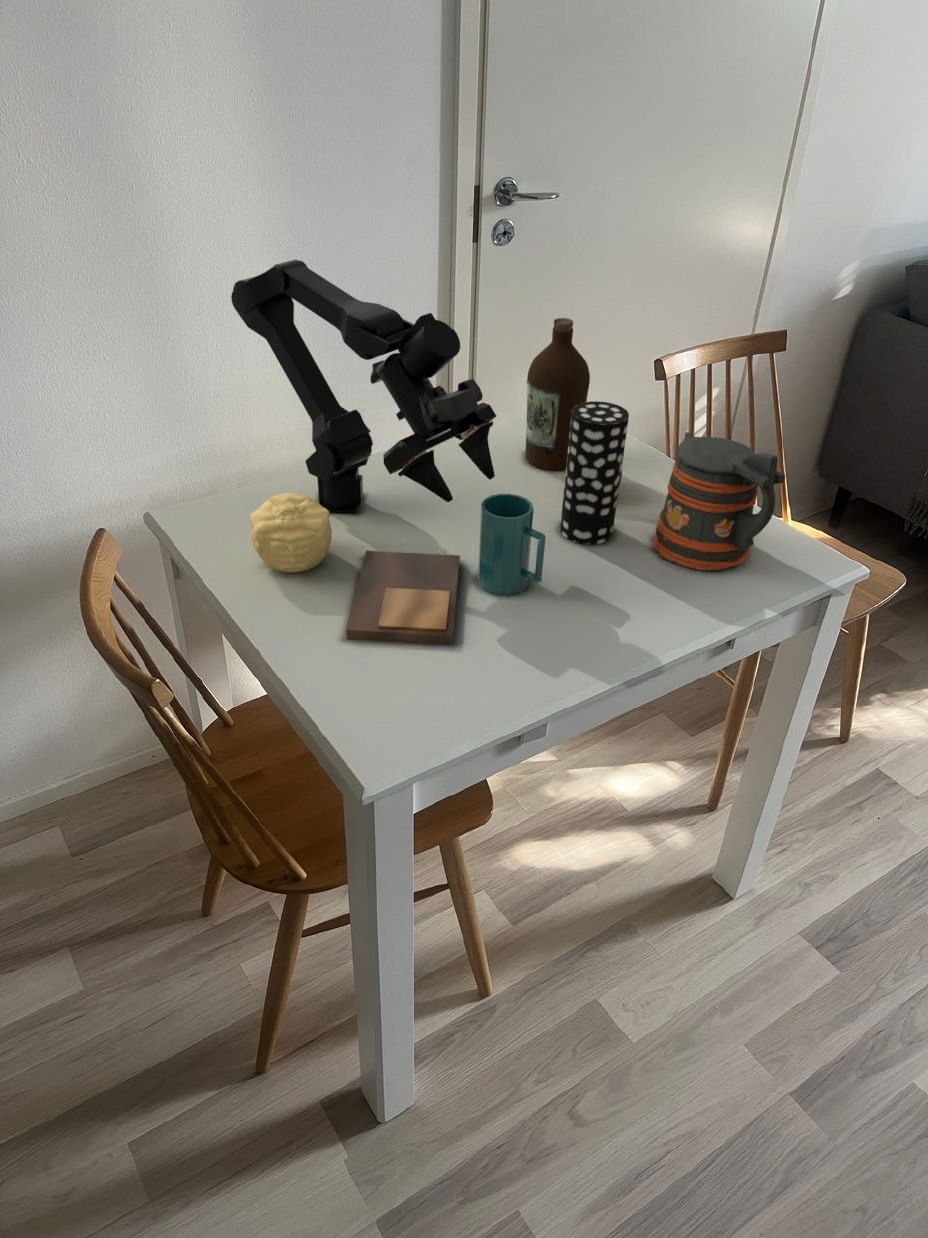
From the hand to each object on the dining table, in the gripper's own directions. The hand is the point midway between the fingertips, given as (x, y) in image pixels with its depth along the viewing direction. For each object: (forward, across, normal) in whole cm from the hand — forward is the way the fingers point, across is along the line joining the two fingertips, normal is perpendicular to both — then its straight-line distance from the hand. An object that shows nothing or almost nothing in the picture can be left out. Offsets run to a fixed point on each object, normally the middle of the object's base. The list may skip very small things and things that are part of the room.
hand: (471, 489), depth 136 cm
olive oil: (+1, +37, +18) cm, 41 cm away
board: (+8, -13, +10) cm, 18 cm away
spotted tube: (+14, +20, +4) cm, 25 cm away
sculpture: (-5, -17, +23) cm, 29 cm away
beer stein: (+27, +28, -9) cm, 40 cm away
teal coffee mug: (+15, 0, +3) cm, 15 cm away
